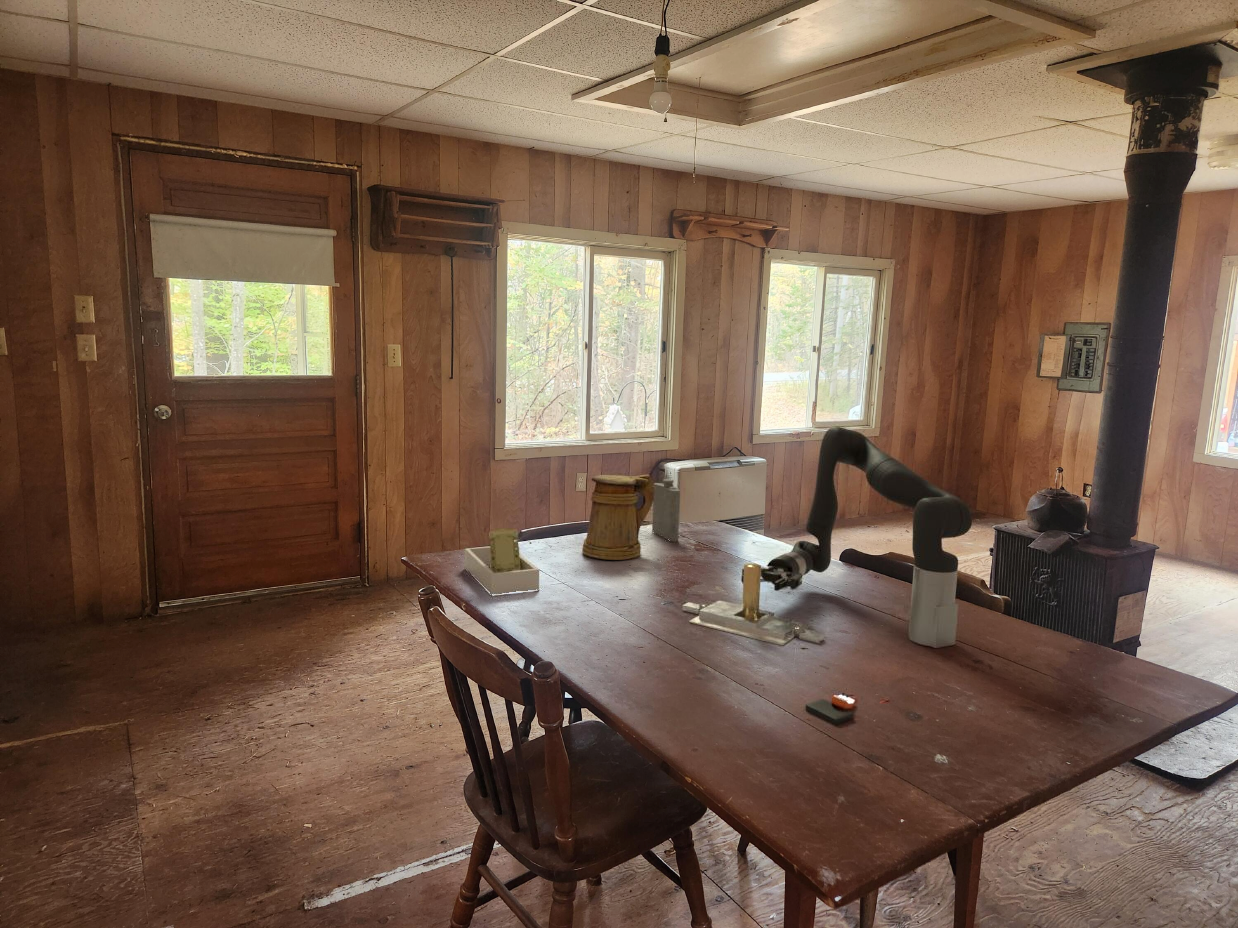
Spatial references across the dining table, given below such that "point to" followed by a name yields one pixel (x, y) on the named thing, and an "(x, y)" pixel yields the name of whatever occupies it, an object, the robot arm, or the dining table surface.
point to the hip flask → (666, 510)
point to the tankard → (617, 516)
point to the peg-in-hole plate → (750, 623)
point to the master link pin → (751, 591)
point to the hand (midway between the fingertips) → (759, 583)
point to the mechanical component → (504, 550)
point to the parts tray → (500, 573)
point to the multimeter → (834, 708)
